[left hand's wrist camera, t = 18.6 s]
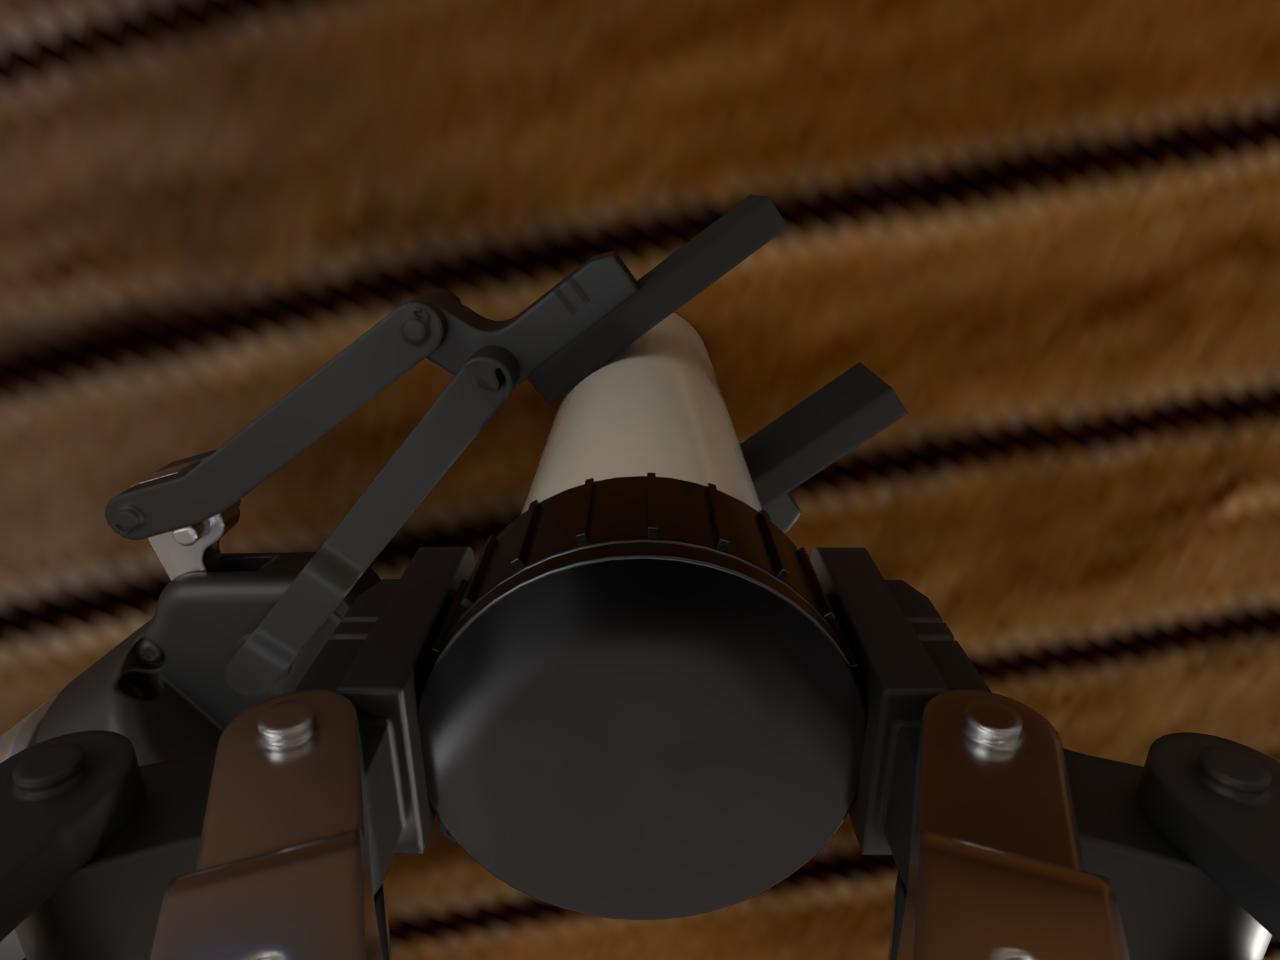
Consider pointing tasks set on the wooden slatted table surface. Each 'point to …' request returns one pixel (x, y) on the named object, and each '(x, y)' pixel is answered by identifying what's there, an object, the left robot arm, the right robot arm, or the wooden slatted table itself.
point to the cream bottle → (646, 421)
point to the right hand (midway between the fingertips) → (825, 302)
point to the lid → (642, 703)
